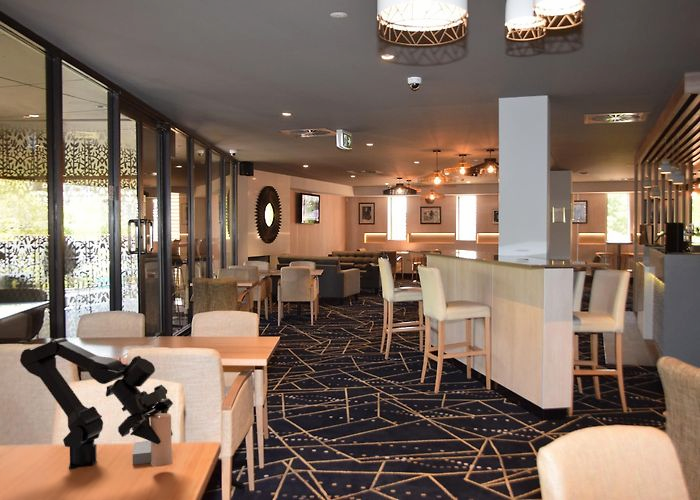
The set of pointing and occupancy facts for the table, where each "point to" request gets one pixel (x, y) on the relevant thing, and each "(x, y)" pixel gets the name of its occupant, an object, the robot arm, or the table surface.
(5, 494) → the table surface
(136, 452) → the charcoal plinth
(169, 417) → the terracotta column
